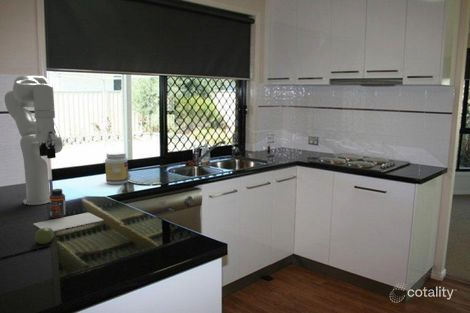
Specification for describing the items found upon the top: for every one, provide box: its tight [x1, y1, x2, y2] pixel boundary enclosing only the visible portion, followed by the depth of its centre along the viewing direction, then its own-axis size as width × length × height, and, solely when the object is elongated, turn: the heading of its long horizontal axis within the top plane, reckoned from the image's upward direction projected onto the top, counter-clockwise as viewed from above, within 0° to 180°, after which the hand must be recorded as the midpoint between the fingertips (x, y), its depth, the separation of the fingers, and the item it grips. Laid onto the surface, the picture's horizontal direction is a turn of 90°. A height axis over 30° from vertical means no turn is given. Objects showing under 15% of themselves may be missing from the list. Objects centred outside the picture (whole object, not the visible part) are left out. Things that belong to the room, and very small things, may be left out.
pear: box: [34, 228, 55, 245], centre depth 142 cm, size 6×5×10 cm
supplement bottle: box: [49, 188, 67, 219], centre depth 169 cm, size 6×6×11 cm
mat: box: [33, 212, 105, 233], centre depth 162 cm, size 14×22×1 cm, turn 133°
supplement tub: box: [104, 151, 129, 185], centre depth 233 cm, size 12×12×17 cm
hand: (47, 156), depth 172 cm, fingers open, 7 cm apart
